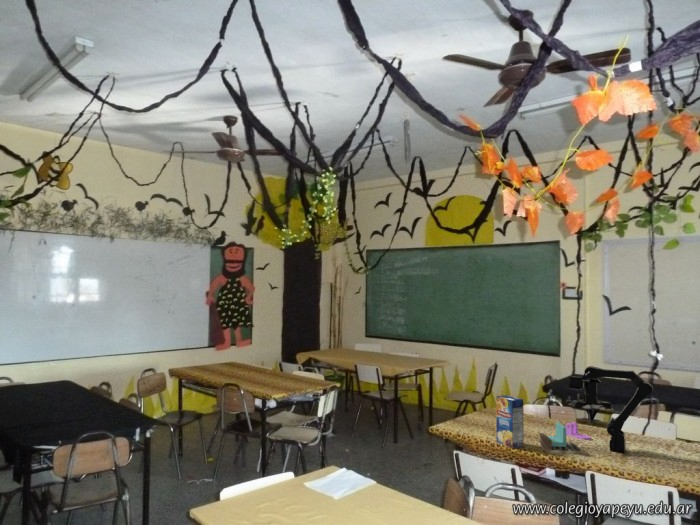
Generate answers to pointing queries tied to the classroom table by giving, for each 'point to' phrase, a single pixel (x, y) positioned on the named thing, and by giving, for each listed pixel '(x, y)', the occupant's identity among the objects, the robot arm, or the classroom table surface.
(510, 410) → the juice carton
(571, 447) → the roller track
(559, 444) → the teal l-shaped block
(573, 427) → the bracket
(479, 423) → the classroom table surface
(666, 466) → the classroom table surface
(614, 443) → the robot arm
